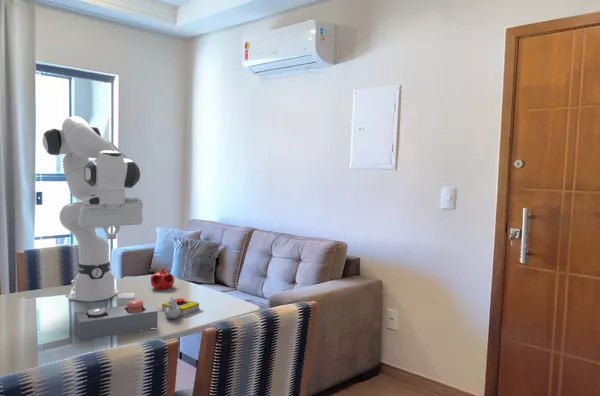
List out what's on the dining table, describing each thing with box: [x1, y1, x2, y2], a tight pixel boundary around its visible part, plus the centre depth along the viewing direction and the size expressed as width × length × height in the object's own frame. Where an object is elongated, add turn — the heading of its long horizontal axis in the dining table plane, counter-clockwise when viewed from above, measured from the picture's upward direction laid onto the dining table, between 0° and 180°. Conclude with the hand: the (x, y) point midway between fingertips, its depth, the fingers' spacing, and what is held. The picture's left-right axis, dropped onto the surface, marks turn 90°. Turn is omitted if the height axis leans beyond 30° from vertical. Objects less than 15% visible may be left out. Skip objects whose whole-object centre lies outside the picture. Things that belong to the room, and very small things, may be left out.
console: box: [73, 302, 159, 342], centre depth 157 cm, size 11×24×6 cm, turn 123°
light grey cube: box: [116, 292, 136, 307], centre depth 175 cm, size 6×6×6 cm
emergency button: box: [160, 297, 204, 318], centre depth 178 cm, size 9×4×15 cm
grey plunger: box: [88, 307, 106, 318], centre depth 153 cm, size 5×5×5 cm
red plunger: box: [127, 299, 144, 313], centre depth 160 cm, size 5×5×5 cm
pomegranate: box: [150, 267, 175, 291], centre depth 208 cm, size 10×10×9 cm
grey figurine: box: [164, 297, 180, 319], centre depth 170 cm, size 5×7×8 cm
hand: (111, 238), depth 161 cm, fingers closed
